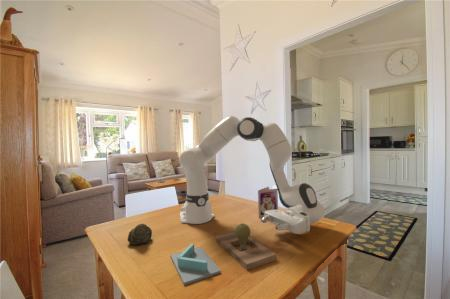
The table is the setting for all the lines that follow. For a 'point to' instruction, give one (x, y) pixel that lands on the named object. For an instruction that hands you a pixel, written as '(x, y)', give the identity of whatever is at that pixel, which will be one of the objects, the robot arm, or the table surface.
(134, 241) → the seashell
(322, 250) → the table surface
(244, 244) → the light bulb
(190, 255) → the V-block
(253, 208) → the table surface
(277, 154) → the robot arm
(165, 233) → the table surface
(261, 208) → the greeting card
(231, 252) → the wooden board with hole
